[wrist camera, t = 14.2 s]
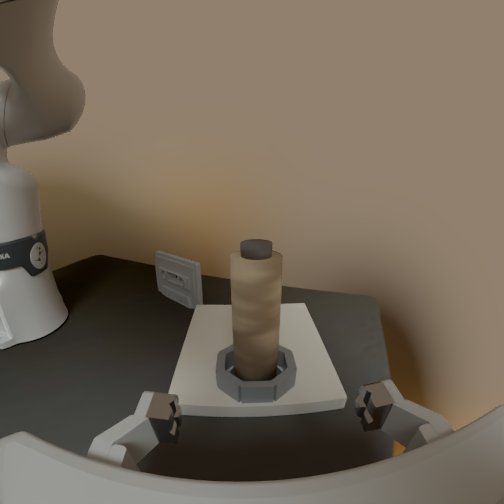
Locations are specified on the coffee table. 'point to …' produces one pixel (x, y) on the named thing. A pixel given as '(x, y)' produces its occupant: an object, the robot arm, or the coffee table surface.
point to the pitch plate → (254, 392)
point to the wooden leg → (256, 309)
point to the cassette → (179, 279)
